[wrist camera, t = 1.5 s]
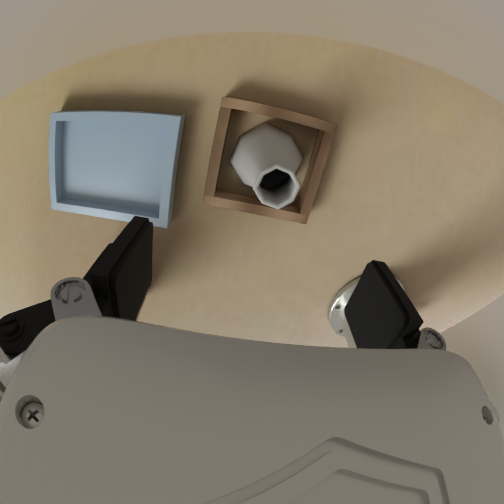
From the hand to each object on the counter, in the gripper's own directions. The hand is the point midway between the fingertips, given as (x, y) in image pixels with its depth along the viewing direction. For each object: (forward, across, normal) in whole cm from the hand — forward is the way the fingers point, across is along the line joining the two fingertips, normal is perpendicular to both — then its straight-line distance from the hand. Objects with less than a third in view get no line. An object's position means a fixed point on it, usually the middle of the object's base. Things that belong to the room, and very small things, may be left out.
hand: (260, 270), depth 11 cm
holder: (+19, -1, -1) cm, 19 cm away
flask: (+19, -1, -1) cm, 19 cm away
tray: (+19, +16, +2) cm, 25 cm away
